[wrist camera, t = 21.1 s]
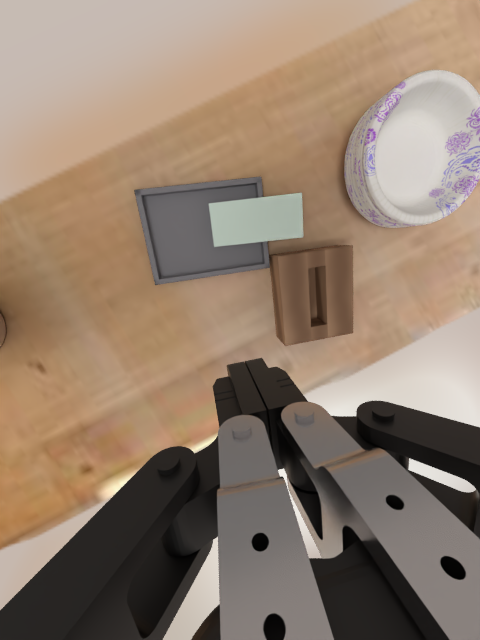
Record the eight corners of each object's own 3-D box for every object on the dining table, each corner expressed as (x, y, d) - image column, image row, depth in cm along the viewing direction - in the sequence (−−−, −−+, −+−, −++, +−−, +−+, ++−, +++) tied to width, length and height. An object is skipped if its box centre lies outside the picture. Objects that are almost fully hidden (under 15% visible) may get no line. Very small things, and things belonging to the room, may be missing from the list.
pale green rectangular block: (214, 246, 34) (303, 237, 33) (208, 203, 32) (301, 192, 32) (215, 246, 35) (300, 237, 35) (210, 205, 34) (299, 194, 33)
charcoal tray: (156, 283, 36) (155, 284, 34) (136, 192, 32) (134, 189, 31) (266, 266, 38) (269, 267, 36) (258, 179, 34) (261, 176, 33)
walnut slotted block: (276, 336, 41) (285, 345, 37) (269, 255, 37) (277, 256, 33) (338, 324, 42) (353, 332, 38) (336, 245, 39) (352, 245, 35)
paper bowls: (329, 107, 34) (369, 68, 26) (437, 101, 36) (503, 63, 28) (331, 235, 38) (366, 233, 31) (427, 223, 40) (482, 218, 33)
